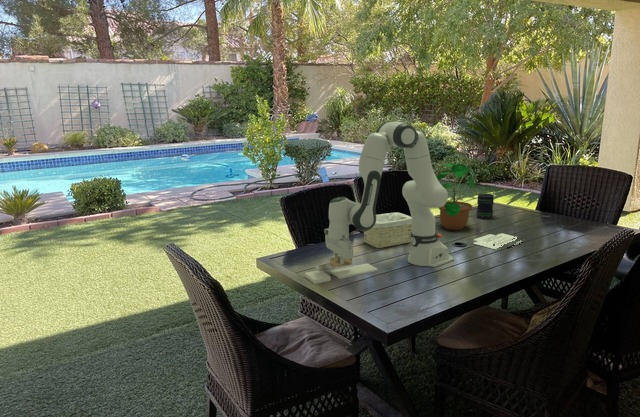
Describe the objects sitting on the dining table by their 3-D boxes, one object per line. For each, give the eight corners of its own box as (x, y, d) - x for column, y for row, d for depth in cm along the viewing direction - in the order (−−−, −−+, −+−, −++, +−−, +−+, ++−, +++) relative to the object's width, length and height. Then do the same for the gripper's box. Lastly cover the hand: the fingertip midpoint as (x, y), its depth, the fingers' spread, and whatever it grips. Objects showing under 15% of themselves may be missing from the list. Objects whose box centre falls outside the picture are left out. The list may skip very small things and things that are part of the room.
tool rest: (367, 265, 225) (367, 263, 225) (377, 271, 217) (377, 269, 217) (330, 272, 217) (330, 270, 217) (339, 279, 209) (339, 277, 209)
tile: (320, 269, 216) (304, 272, 213) (330, 276, 207) (314, 280, 204) (321, 274, 217) (305, 277, 213) (330, 281, 208) (314, 284, 204)
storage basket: (396, 235, 271) (397, 211, 267) (414, 243, 257) (415, 217, 253) (361, 242, 260) (361, 216, 257) (377, 250, 246) (377, 223, 243)
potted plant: (441, 219, 304) (443, 158, 294) (483, 227, 283) (486, 162, 274) (412, 228, 283) (414, 163, 274) (455, 238, 263) (458, 168, 254)
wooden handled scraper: (348, 262, 219) (348, 253, 218) (353, 265, 214) (353, 256, 213) (315, 268, 212) (314, 259, 211) (319, 271, 207) (319, 263, 206)
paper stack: (466, 243, 256) (467, 236, 255) (495, 235, 272) (496, 229, 272) (500, 252, 240) (501, 245, 239) (529, 243, 257) (530, 236, 256)
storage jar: (491, 216, 308) (493, 193, 304) (493, 220, 298) (494, 197, 295) (475, 215, 310) (477, 193, 307) (477, 219, 301) (478, 196, 297)
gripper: (356, 238, 203) (356, 268, 206) (334, 227, 221) (335, 254, 224) (343, 240, 200) (344, 270, 203) (322, 228, 218) (323, 257, 221)
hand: (339, 262), depth 214 cm, fingers closed on wooden handled scraper, 2 cm apart
